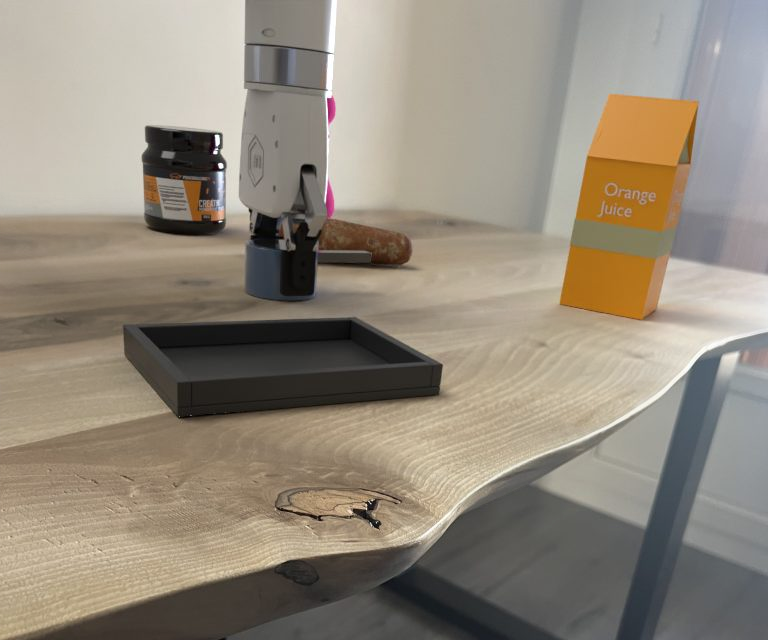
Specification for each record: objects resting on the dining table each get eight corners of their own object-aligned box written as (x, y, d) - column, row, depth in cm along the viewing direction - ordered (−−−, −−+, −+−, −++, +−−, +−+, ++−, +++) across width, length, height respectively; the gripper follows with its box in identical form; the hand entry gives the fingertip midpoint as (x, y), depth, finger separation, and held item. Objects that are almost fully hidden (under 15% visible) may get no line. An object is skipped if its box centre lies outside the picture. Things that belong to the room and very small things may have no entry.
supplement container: (168, 236, 100) (165, 129, 95) (129, 223, 107) (125, 122, 102) (241, 235, 107) (243, 135, 102) (201, 222, 114) (200, 127, 108)
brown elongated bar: (249, 250, 97) (250, 200, 94) (407, 263, 100) (412, 215, 97) (247, 259, 91) (248, 207, 89) (414, 273, 94) (420, 222, 92)
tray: (177, 418, 46) (177, 382, 45) (124, 355, 56) (122, 324, 55) (439, 394, 54) (443, 364, 53) (353, 343, 64) (355, 316, 63)
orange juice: (579, 294, 92) (617, 96, 83) (657, 308, 88) (707, 103, 80) (558, 304, 86) (597, 91, 77) (642, 320, 82) (693, 99, 73)
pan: (260, 301, 74) (261, 250, 72) (234, 285, 79) (234, 237, 77) (381, 298, 80) (385, 251, 78) (350, 283, 85) (353, 239, 83)
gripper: (213, 68, 75) (213, 268, 82) (287, 71, 61) (279, 309, 69) (289, 77, 78) (281, 267, 86) (375, 82, 65) (357, 306, 73)
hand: (280, 284), depth 78 cm, fingers closed on pan, 6 cm apart
